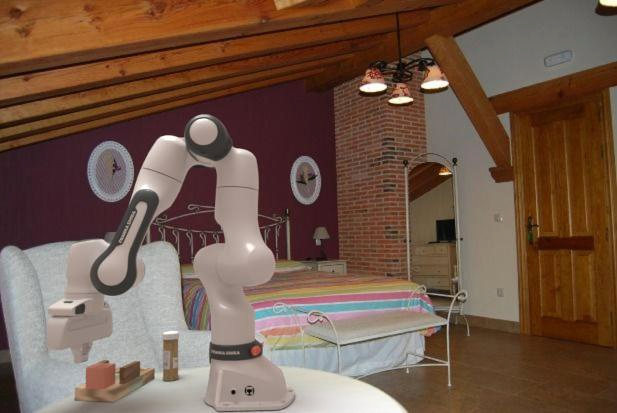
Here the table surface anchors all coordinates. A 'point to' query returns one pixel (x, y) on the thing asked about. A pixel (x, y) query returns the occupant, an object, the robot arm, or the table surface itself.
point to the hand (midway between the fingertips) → (81, 362)
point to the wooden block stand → (117, 383)
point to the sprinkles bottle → (170, 355)
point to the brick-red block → (100, 375)
